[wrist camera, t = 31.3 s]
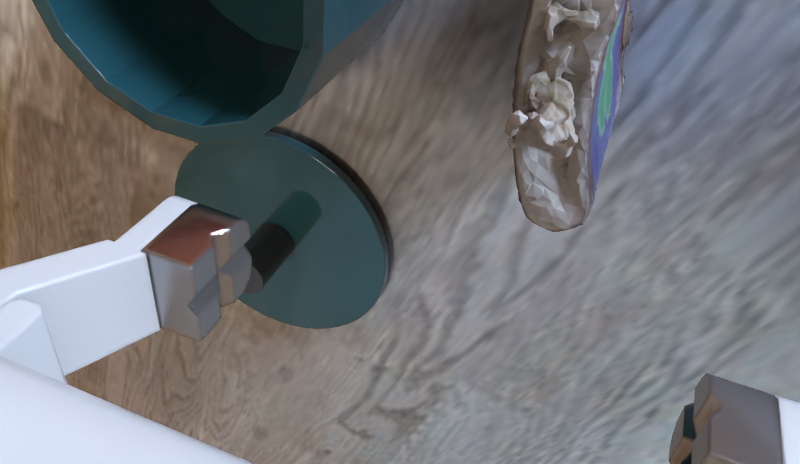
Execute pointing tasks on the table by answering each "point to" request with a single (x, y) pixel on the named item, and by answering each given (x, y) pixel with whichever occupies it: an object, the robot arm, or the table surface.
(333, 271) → the pot lid
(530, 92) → the flask
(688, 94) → the table surface
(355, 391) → the table surface
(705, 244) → the table surface
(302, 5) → the pot
